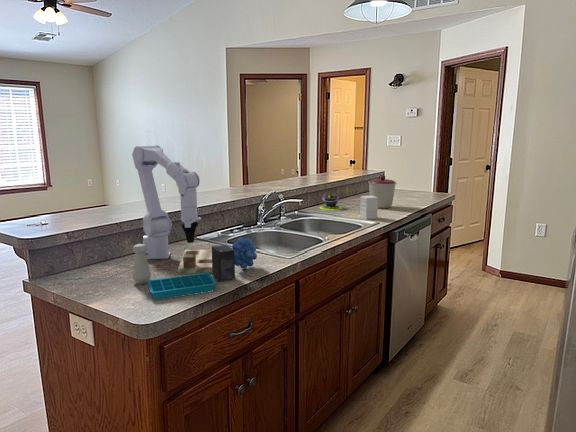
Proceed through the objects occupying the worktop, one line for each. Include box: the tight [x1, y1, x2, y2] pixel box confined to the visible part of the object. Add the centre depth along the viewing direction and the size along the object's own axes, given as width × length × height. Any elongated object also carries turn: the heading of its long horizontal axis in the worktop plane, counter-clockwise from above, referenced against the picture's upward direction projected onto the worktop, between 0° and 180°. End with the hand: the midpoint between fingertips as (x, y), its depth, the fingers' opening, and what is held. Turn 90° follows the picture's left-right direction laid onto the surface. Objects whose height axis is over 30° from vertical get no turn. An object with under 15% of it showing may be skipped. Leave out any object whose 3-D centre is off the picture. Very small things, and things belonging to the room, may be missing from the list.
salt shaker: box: [131, 243, 152, 285], centre depth 140 cm, size 6×6×13 cm
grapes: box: [231, 237, 258, 270], centre depth 154 cm, size 12×7×12 cm, turn 134°
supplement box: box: [359, 195, 378, 221], centre depth 242 cm, size 7×7×13 cm
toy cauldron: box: [319, 193, 343, 211], centre depth 273 cm, size 15×15×11 cm
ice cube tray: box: [146, 273, 218, 300], centre depth 135 cm, size 12×20×3 cm, turn 113°
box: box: [211, 244, 236, 282], centre depth 146 cm, size 8×6×11 cm
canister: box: [367, 174, 398, 209], centre depth 275 cm, size 18×18×21 cm
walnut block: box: [182, 253, 196, 268], centre depth 151 cm, size 4×4×4 cm
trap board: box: [177, 248, 212, 275], centre depth 162 cm, size 12×23×2 cm, turn 7°
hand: (190, 242), depth 156 cm, fingers closed
